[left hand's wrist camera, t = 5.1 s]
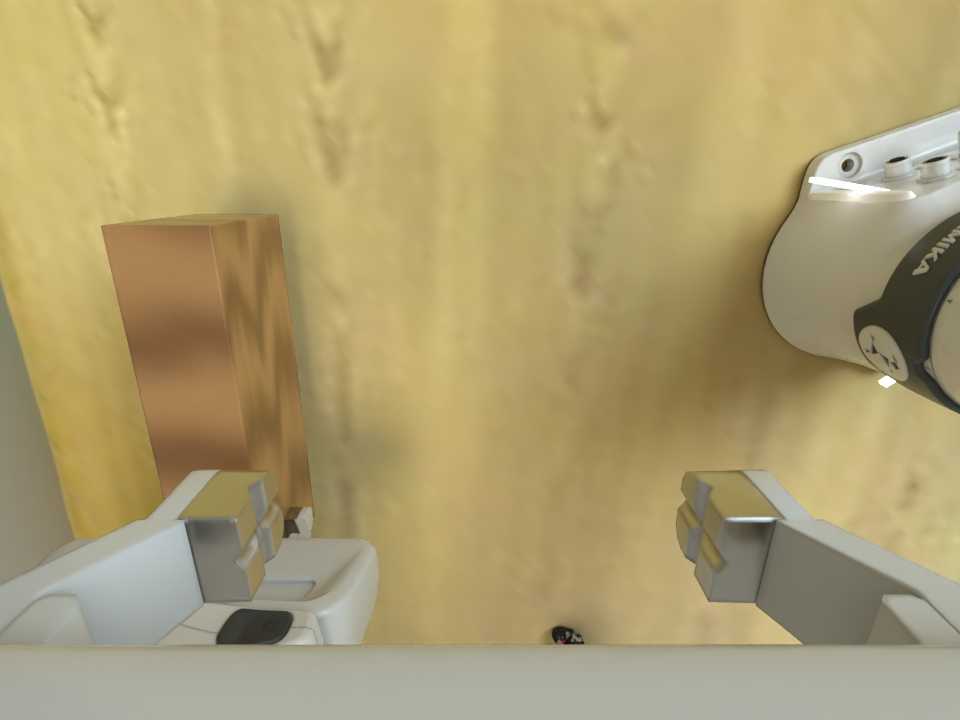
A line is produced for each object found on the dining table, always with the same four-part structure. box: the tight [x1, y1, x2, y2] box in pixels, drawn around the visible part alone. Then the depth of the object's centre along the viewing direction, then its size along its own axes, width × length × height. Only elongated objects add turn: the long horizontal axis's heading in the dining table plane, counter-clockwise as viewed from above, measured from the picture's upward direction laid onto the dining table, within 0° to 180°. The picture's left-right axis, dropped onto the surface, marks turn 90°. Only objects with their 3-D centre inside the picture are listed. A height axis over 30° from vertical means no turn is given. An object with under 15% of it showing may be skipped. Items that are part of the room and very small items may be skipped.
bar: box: [101, 214, 315, 538], centre depth 35 cm, size 24×6×10 cm, turn 0°
